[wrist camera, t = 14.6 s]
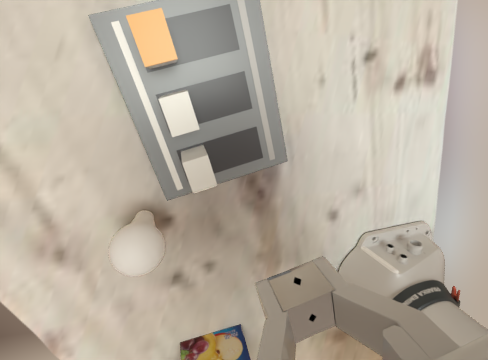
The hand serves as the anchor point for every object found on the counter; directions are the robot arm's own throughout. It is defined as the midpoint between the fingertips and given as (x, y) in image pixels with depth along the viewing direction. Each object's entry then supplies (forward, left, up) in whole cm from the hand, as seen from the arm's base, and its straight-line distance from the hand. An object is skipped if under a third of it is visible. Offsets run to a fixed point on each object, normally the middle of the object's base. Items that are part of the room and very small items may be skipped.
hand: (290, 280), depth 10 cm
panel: (-1, -5, -27) cm, 28 cm away
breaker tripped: (+2, -12, -25) cm, 28 cm away
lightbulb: (+12, +8, -27) cm, 31 cm away
